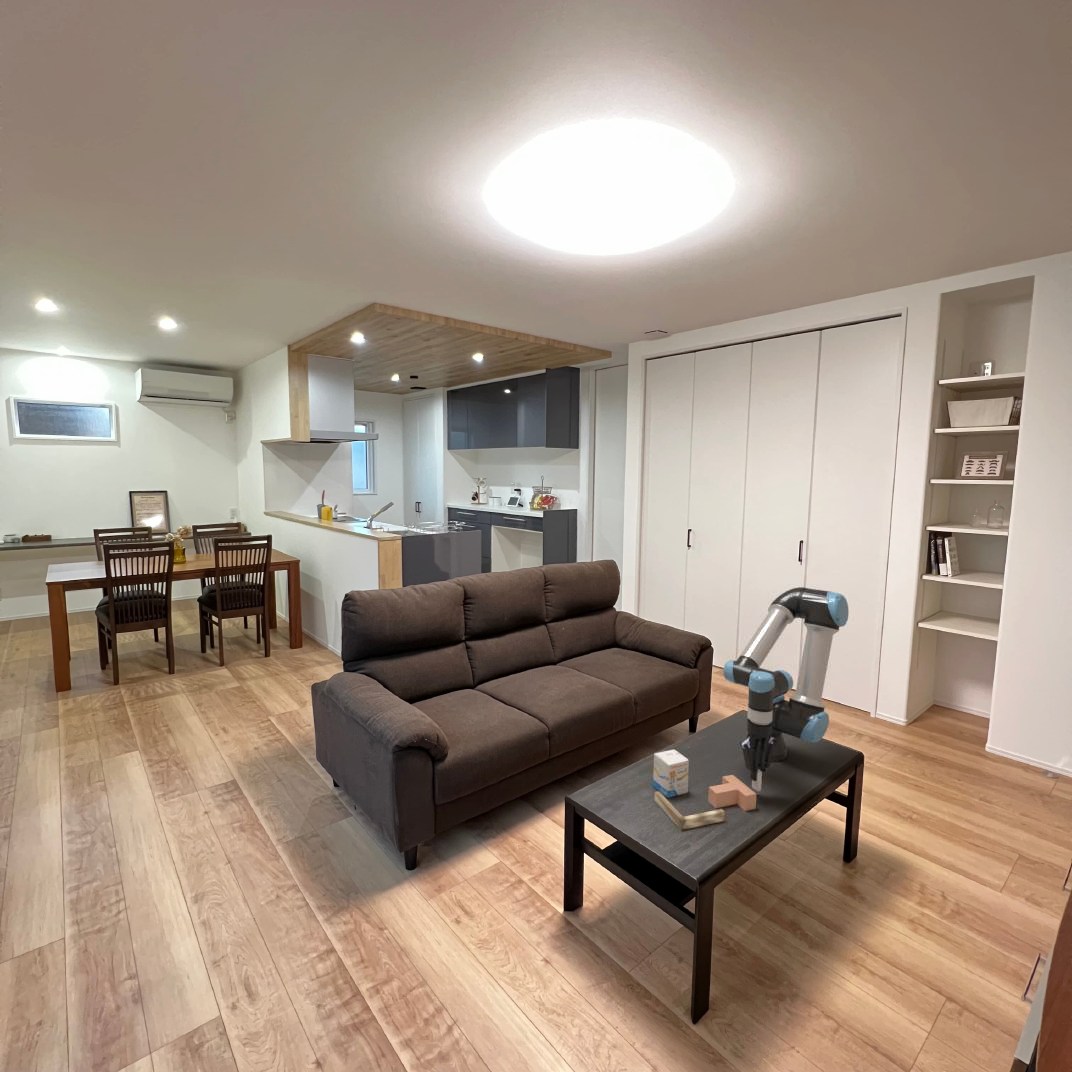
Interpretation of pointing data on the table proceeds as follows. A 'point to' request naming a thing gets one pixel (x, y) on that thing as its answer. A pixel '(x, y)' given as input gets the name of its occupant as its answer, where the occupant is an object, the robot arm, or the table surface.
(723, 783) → the t block
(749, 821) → the table surface
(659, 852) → the table surface
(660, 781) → the ink box
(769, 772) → the table surface
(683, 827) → the corner fence
